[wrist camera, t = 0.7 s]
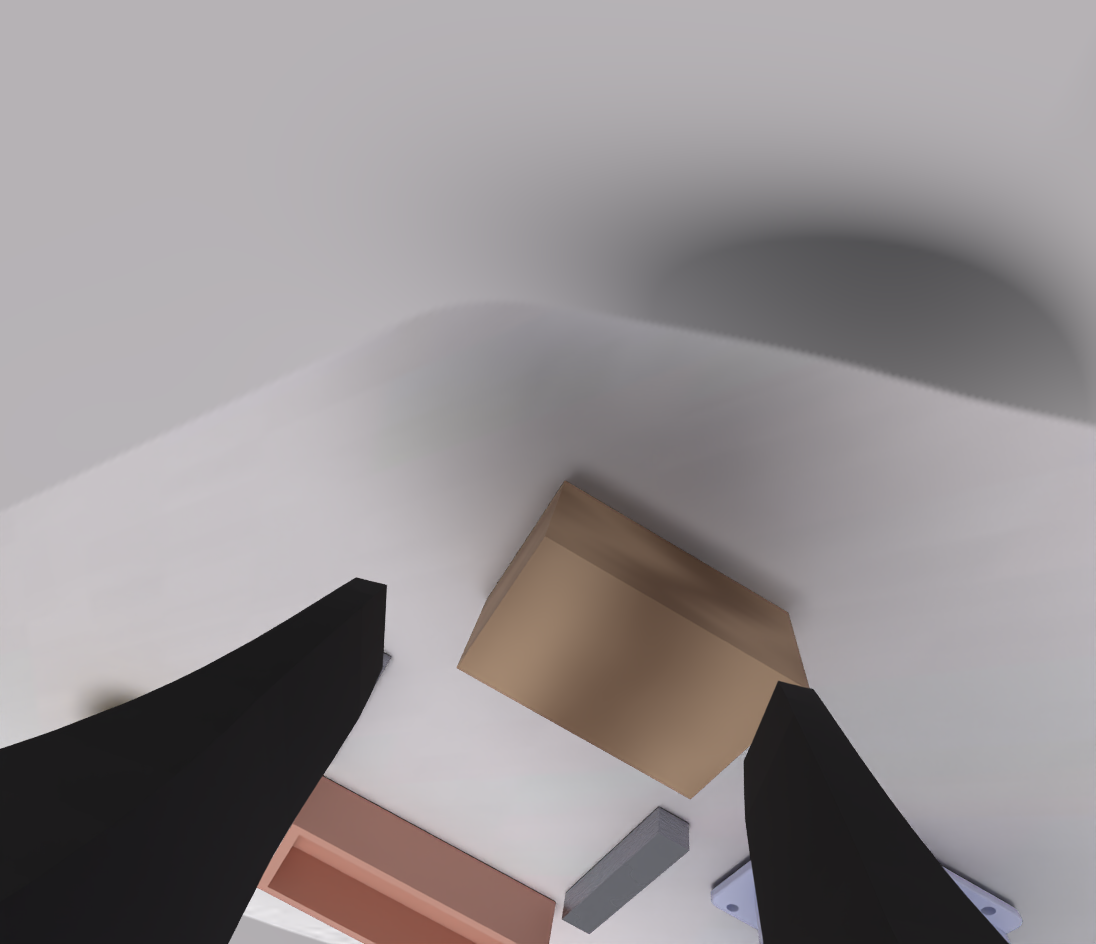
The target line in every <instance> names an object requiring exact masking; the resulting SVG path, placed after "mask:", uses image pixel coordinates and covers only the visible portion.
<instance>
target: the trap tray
mask: <svg viewBox="0 0 1096 944" xmlns="http://www.w3.org/2000/svg"><path fill="white" fill-rule="evenodd" d="M257 888H259V889H261V890H263V891H265V892H267V893H268V894H270V895H272V896H274V897H276V898H278V899H280V900H282V901H284V902H286V903H287V904H289V905H291V906H293V907H295V908H297V909H299V910H301V911H303V912H305V913H307V914H308V915H310V916H312V917H314V918H316V919H318V920H320V921H322V922H324V923H326V924H327V925H329V926H331V927H333V928H335V929H337V930H339V931H341V932H343V933H345V934H347V935H348V936H350V937H352V938H354V939H356V940H358V941H360V942H362V943H364V944H549V940H550V934H551V928H552V922H553V915H554V909H555V903H556V902H554V901H552V900H550V899H548V898H547V897H545V896H543V895H541V894H539V893H537V892H536V891H534V890H532V889H530V888H528V887H526V886H524V885H523V884H521V883H519V882H517V881H515V880H513V879H512V878H510V877H508V876H506V875H504V874H502V873H501V872H499V871H497V870H495V869H493V868H491V867H489V866H488V865H486V864H484V863H482V862H480V861H478V860H477V859H475V858H473V857H471V856H469V855H467V854H465V853H464V852H462V851H460V850H458V849H456V848H454V847H453V846H451V845H449V844H447V843H445V842H443V841H441V840H440V839H438V838H436V837H434V836H432V835H430V834H429V833H427V832H425V831H423V830H421V829H419V828H417V827H416V826H414V825H412V824H410V823H408V822H406V821H405V820H403V819H401V818H399V817H397V816H395V815H393V814H392V813H390V812H388V811H386V810H384V809H382V808H381V807H379V806H377V805H375V804H373V803H371V802H370V801H368V800H366V799H364V798H362V797H360V796H358V795H357V794H355V793H353V792H351V791H349V790H347V789H346V788H344V787H342V786H340V785H338V784H336V783H334V782H333V781H331V780H329V779H327V778H325V777H323V776H322V778H321V779H320V781H319V782H318V784H317V785H316V787H315V789H314V790H313V792H312V793H311V795H310V796H309V798H308V800H307V801H306V803H305V804H304V806H303V807H302V809H301V811H300V812H299V814H298V815H297V817H296V819H295V820H294V822H293V824H292V825H291V827H290V829H289V831H288V832H287V834H286V836H285V837H284V839H283V841H282V842H281V844H280V846H279V847H278V849H277V851H276V853H275V854H274V856H273V858H272V859H271V861H270V863H269V865H268V867H267V869H266V871H265V872H264V874H263V876H262V878H261V880H260V882H259V884H258V886H257Z"/></svg>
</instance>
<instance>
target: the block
mask: <svg viewBox="0 0 1096 944" xmlns="http://www.w3.org/2000/svg"><path fill="white" fill-rule="evenodd" d="M457 668H458V669H459V670H461V671H463V672H465V673H466V674H468V675H470V676H472V677H474V678H475V679H477V680H479V681H481V682H482V683H484V684H486V685H488V686H490V687H491V688H493V689H495V690H497V691H498V692H500V693H502V694H504V695H506V696H507V697H509V698H511V699H513V700H514V701H516V702H518V703H520V704H522V705H523V706H525V707H527V708H529V709H530V710H532V711H534V712H536V713H538V714H539V715H541V716H543V717H545V718H547V719H548V720H550V721H552V722H554V723H555V724H557V725H559V726H561V727H563V728H564V729H566V730H568V731H570V732H571V733H573V734H575V735H577V736H579V737H580V738H582V739H584V740H586V741H587V742H589V743H591V744H593V745H595V746H596V747H598V748H600V749H602V750H603V751H605V752H607V753H609V754H611V755H612V756H614V757H616V758H618V759H619V760H621V761H623V762H625V763H627V764H628V765H630V766H632V767H634V768H635V769H637V770H639V771H641V772H643V773H644V774H646V775H648V776H650V777H651V778H653V779H655V780H657V781H659V782H660V783H662V784H664V785H666V786H668V787H669V788H671V789H673V790H675V791H676V792H678V793H680V794H682V795H684V796H685V797H687V798H689V799H691V798H692V797H694V796H695V795H696V794H697V793H698V792H699V791H700V790H701V789H702V788H704V787H705V786H706V785H707V784H708V783H709V782H710V781H711V780H712V779H714V778H715V777H716V776H717V775H718V774H719V773H720V772H721V771H722V770H723V769H725V768H726V767H727V766H728V765H729V764H730V763H731V762H732V761H733V760H735V759H736V758H737V757H738V756H739V755H740V754H741V753H742V752H743V751H745V750H746V749H747V748H748V747H749V746H750V745H751V743H752V741H753V739H754V736H755V734H756V731H757V729H758V727H759V724H760V722H761V720H762V717H763V715H764V713H765V710H766V708H767V706H768V703H769V701H770V699H771V696H772V694H773V691H774V689H775V687H776V684H777V682H778V681H781V682H785V683H789V684H793V685H798V686H802V687H806V688H809V685H808V681H807V677H806V674H805V670H804V667H803V663H802V660H801V656H800V653H799V649H798V646H797V642H796V639H795V635H794V631H793V628H792V624H791V621H790V617H789V614H788V612H786V611H784V610H783V609H781V608H779V607H778V606H776V605H774V604H773V603H771V602H769V601H768V600H766V599H764V598H763V597H761V596H759V595H757V594H756V593H754V592H752V591H751V590H749V589H747V588H746V587H744V586H742V585H741V584H739V583H737V582H736V581H734V580H732V579H730V578H729V577H727V576H725V575H724V574H722V573H720V572H719V571H717V570H715V569H714V568H712V567H710V566H709V565H707V564H705V563H703V562H702V561H700V560H698V559H697V558H695V557H693V556H692V555H690V554H688V553H687V552H685V551H683V550H682V549H680V548H678V547H677V546H675V545H673V544H671V543H670V542H668V541H666V540H665V539H663V538H661V537H660V536H658V535H656V534H655V533H653V532H651V531H650V530H648V529H646V528H644V527H643V526H641V525H639V524H638V523H636V522H634V521H633V520H631V519H629V518H628V517H626V516H624V515H623V514H621V513H619V512H617V511H616V510H614V509H612V508H611V507H609V506H607V505H606V504H604V503H602V502H601V501H599V500H597V499H596V498H594V497H592V496H590V495H589V494H587V493H585V492H584V491H582V490H580V489H579V488H577V487H575V486H574V485H572V484H570V483H569V482H567V481H564V483H563V484H562V486H561V487H560V489H559V490H558V492H557V493H556V495H555V496H554V498H553V499H552V501H551V502H550V504H549V505H548V507H547V509H546V510H545V512H544V513H543V515H542V516H541V518H540V519H539V521H538V522H537V524H536V525H535V527H534V528H533V530H532V531H531V533H530V534H529V536H528V537H527V539H526V541H525V542H524V544H523V545H522V547H521V548H520V550H519V551H518V553H517V554H516V556H515V557H514V559H513V560H512V562H511V563H510V565H509V566H508V568H507V569H506V571H505V573H504V574H503V576H502V577H501V579H500V580H499V582H498V583H497V585H496V586H495V588H494V589H493V591H492V592H491V594H490V595H489V597H488V598H487V600H486V602H485V605H484V607H483V609H482V611H481V614H480V616H479V618H478V620H477V623H476V625H475V627H474V629H473V632H472V634H471V636H470V638H469V641H468V643H467V645H466V647H465V650H464V652H463V654H462V656H461V659H460V661H459V663H458V666H457Z"/></svg>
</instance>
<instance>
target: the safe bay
mask: <svg viewBox="0 0 1096 944" xmlns="http://www.w3.org/2000/svg"><path fill="white" fill-rule="evenodd" d="M390 658H391V657H390V656H389V655H387V654H385V653H383V669H382V671H381V673H380V675H381V674H382V672H383V670H384V669H385V667H386V665H387V664H388V662H389V660H390ZM380 675H379V677H380ZM379 677H378V679H379ZM378 679H377V680H378ZM688 851H689V824H688V823H687V822H685V821H683V820H681V819H679V818H678V817H676V816H674V815H672V814H671V813H669V812H667V811H665V810H663V809H662V808H660V807H658V808H657V809H656V810H655V811H654V812H653V813H652V814H651V815H649V816H648V817H647V818H646V819H645V820H644V821H643V822H642V823H641V824H640V825H639V826H638V827H636V828H635V829H634V830H633V831H632V832H631V833H630V834H629V835H628V836H627V837H626V838H625V839H624V840H622V841H621V842H620V843H619V844H618V845H617V846H616V847H615V848H614V849H613V850H612V851H611V852H609V853H608V854H607V855H606V856H605V857H604V858H603V859H602V860H601V861H600V862H599V863H598V864H596V865H595V866H594V867H593V868H592V869H591V870H590V871H589V872H588V873H587V874H586V875H585V876H584V877H582V878H581V879H580V880H579V881H578V882H577V883H576V884H575V885H574V886H573V887H572V888H571V889H569V890H568V891H567V892H566V894H565V901H564V908H563V915H562V920H564V921H566V922H568V923H570V924H571V925H573V926H575V927H577V928H579V929H581V930H583V931H584V932H586V933H588V934H590V933H591V932H593V931H594V930H595V929H596V928H597V927H599V926H600V925H601V924H602V923H603V922H605V921H606V920H607V919H608V918H609V917H610V916H612V915H613V914H614V913H615V912H616V911H618V910H619V909H620V908H621V907H622V906H624V905H625V904H626V903H627V902H628V901H630V900H631V899H632V898H633V897H634V896H636V895H637V894H638V893H639V892H640V891H642V890H643V889H644V888H645V887H646V886H647V885H649V884H650V883H651V882H652V881H653V880H655V879H656V878H657V877H658V876H659V875H661V874H662V873H663V872H664V871H665V870H667V869H668V868H669V867H670V866H671V865H673V864H674V863H675V862H676V861H677V860H679V859H680V858H681V857H682V856H683V855H684V854H686V853H687V852H688Z"/></svg>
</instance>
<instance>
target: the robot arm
mask: <svg viewBox="0 0 1096 944" xmlns="http://www.w3.org/2000/svg"><path fill="white" fill-rule="evenodd" d="M386 593H387V585H385V584H381V583H377V582H372V581H368V580H364V579H360V578H354V579H353V580H351V581H349V582H348V583H346V584H344V585H343V586H341V587H339V588H338V589H336V590H335V591H333V592H331V593H330V594H328V595H326V596H325V597H323V598H322V599H320V600H319V601H317V602H315V603H314V604H312V605H311V606H309V607H307V608H306V609H304V610H302V611H301V612H299V613H298V614H296V615H294V616H293V617H291V618H289V619H288V620H286V621H284V622H283V623H281V624H279V625H278V626H276V627H274V628H273V629H271V630H269V631H268V632H266V633H264V634H263V635H261V636H259V637H258V638H256V639H254V640H252V641H251V642H249V643H247V644H245V645H243V646H241V647H240V648H238V649H236V650H234V651H232V652H230V653H228V654H227V655H225V656H223V657H221V658H219V659H217V660H216V661H214V662H212V663H210V664H208V665H206V666H204V667H202V668H200V669H198V670H196V671H194V672H192V673H190V674H188V675H186V676H184V677H182V678H180V679H178V680H176V681H174V682H172V683H169V684H167V685H165V686H163V687H161V688H158V689H156V690H154V691H152V692H149V693H147V694H145V695H143V696H141V697H138V698H136V699H134V700H131V701H129V702H127V703H124V704H122V705H119V706H117V707H114V708H111V709H109V710H106V711H104V712H101V713H98V714H96V715H93V716H91V717H88V718H85V719H83V720H80V721H78V722H75V723H73V724H70V725H67V726H65V727H62V728H60V729H57V730H54V731H52V732H49V733H46V734H43V735H40V736H37V737H34V738H31V739H28V740H25V741H22V742H19V743H16V744H14V745H11V746H8V747H5V748H1V749H0V944H228V943H229V941H230V939H231V937H232V935H233V933H234V931H235V929H236V927H237V925H238V923H239V921H240V919H241V917H242V915H243V913H244V911H245V909H246V907H247V905H248V903H249V901H250V900H251V898H252V896H253V894H254V892H255V890H256V888H257V886H258V884H259V882H260V880H261V878H262V876H263V874H264V872H265V871H266V869H267V867H268V865H269V863H270V861H271V859H272V857H273V855H274V853H275V852H276V850H277V848H278V847H279V845H280V843H281V842H282V840H283V838H284V836H285V835H286V833H287V831H288V830H289V828H290V826H291V825H292V823H293V822H294V820H295V818H296V817H297V815H298V814H299V812H300V811H301V809H302V807H303V806H304V804H305V803H306V801H307V800H308V798H309V796H310V795H311V793H312V792H313V790H314V789H315V787H316V785H317V784H318V782H319V781H320V779H321V778H322V776H323V774H324V773H325V771H326V770H327V768H328V767H329V765H330V763H331V762H332V760H333V759H334V757H335V756H336V754H337V752H338V751H339V749H340V748H341V746H342V744H343V743H344V741H345V740H346V738H347V736H348V735H349V733H350V732H351V730H352V728H353V727H354V725H355V724H356V722H357V720H358V719H359V717H360V715H361V713H362V711H363V709H364V707H365V705H366V703H367V701H368V699H369V697H370V695H371V692H372V690H373V688H374V686H375V684H376V682H377V679H378V677H379V675H380V673H381V671H382V669H383V652H384V632H385V613H386ZM744 800H745V822H746V830H747V837H748V844H749V851H750V858H751V860H750V861H749V862H748V863H746V864H745V865H744V866H743V867H741V868H740V869H739V870H737V871H736V872H735V873H733V874H732V875H731V876H730V877H728V878H727V879H726V880H724V881H723V882H722V883H720V884H719V885H718V886H717V887H715V888H714V889H713V890H712V891H711V902H712V903H713V905H715V906H716V907H717V908H719V909H721V910H723V911H725V912H726V913H728V914H730V915H732V916H734V917H736V918H737V919H739V920H741V921H743V922H745V923H746V924H748V925H750V926H752V927H754V928H755V929H757V930H758V934H759V943H760V944H1011V943H1010V941H1009V939H1008V937H1007V935H1006V934H1007V933H1009V932H1011V931H1013V930H1015V929H1017V928H1018V927H1020V926H1021V925H1022V922H1023V921H1022V918H1021V916H1020V914H1019V912H1018V910H1017V909H1016V908H1014V907H1012V906H1011V905H1009V904H1007V903H1005V902H1004V901H1002V900H1000V899H998V898H997V897H995V896H993V895H991V894H990V893H988V892H986V891H984V890H983V889H981V888H979V887H977V886H976V885H974V884H972V883H971V882H969V881H967V880H965V879H964V878H962V877H960V876H958V875H957V874H955V873H953V872H951V871H950V870H948V869H946V868H944V867H943V866H941V864H940V863H939V862H938V861H937V859H936V858H935V857H934V855H933V854H932V853H931V852H930V850H929V849H928V848H927V847H926V845H925V844H924V843H923V842H922V840H921V839H920V838H919V837H918V835H917V834H916V833H915V832H914V830H913V829H912V828H911V826H910V825H909V824H908V822H907V821H906V820H905V818H904V817H903V816H902V814H901V813H900V812H899V810H898V809H897V808H896V806H895V805H894V804H893V802H892V801H891V800H890V798H889V797H888V796H887V794H886V793H885V791H884V790H883V789H882V787H881V786H880V784H879V783H878V782H877V780H876V779H875V777H874V776H873V775H872V773H871V772H870V770H869V769H868V768H867V766H866V765H865V763H864V762H863V760H862V759H861V758H860V756H859V755H858V753H857V752H856V750H855V749H854V747H853V746H852V744H851V743H850V742H849V740H848V739H847V737H846V736H845V734H844V733H843V731H842V730H841V728H840V727H839V725H838V724H837V723H836V721H835V720H834V718H833V717H832V715H831V714H830V712H829V711H828V709H827V708H826V706H825V705H824V703H823V702H822V701H821V699H820V698H819V696H818V695H817V694H816V692H815V691H814V689H810V688H806V687H802V686H798V685H793V684H789V683H785V682H781V681H778V682H777V684H776V687H775V689H774V691H773V694H772V696H771V699H770V701H769V703H768V706H767V708H766V710H765V713H764V715H763V717H762V720H761V722H760V724H759V727H758V729H757V731H756V734H755V736H754V739H753V741H752V743H751V746H750V748H749V750H748V753H747V755H746V757H745V760H744Z"/></svg>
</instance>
